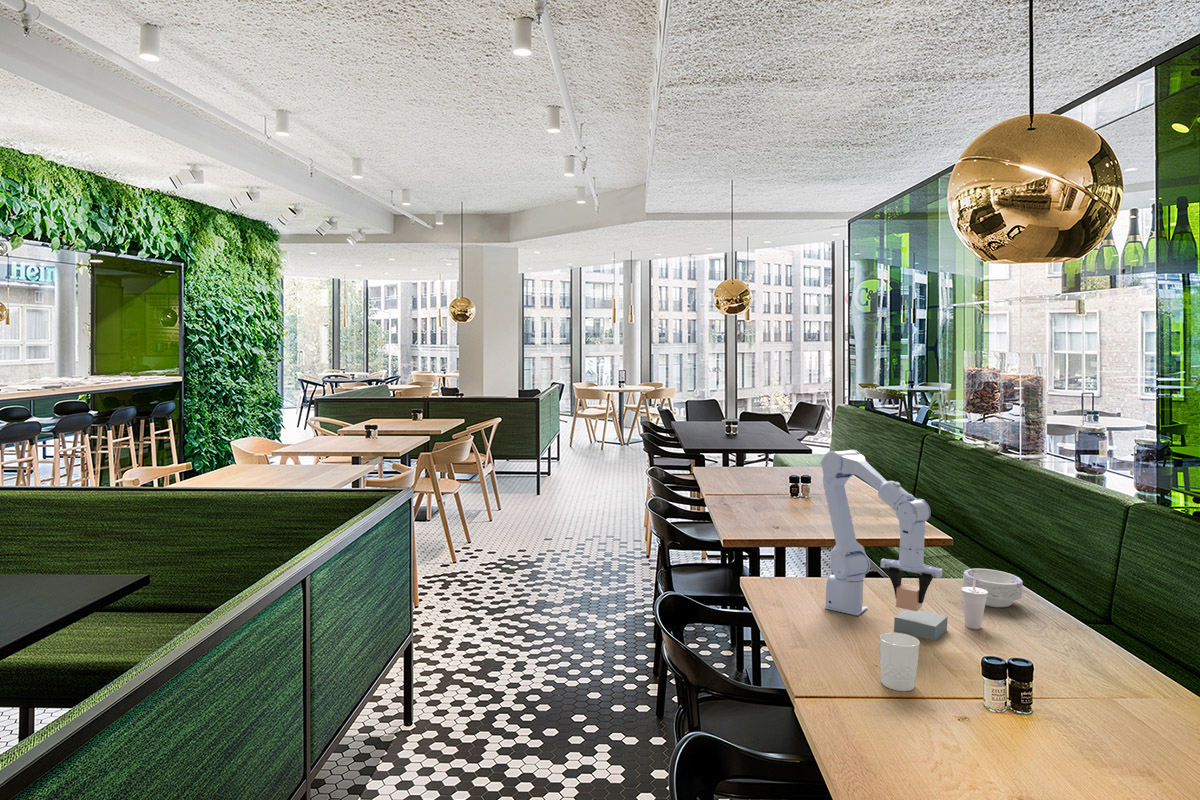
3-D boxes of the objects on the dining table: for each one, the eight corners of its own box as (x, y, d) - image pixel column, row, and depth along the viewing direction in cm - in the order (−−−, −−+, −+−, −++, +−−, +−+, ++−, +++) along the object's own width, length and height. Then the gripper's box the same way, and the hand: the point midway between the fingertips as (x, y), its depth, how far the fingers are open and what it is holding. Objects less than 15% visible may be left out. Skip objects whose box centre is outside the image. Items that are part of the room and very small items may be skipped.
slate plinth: (893, 632, 195) (894, 617, 195) (907, 622, 203) (907, 607, 203) (934, 642, 189) (935, 626, 189) (946, 631, 196) (947, 616, 196)
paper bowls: (1032, 612, 212) (1034, 584, 211) (977, 610, 212) (978, 582, 211) (1004, 594, 227) (1005, 568, 226) (952, 593, 227) (954, 567, 226)
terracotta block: (895, 607, 193) (896, 587, 193) (901, 602, 197) (902, 583, 197) (916, 611, 190) (917, 591, 190) (922, 606, 194) (922, 587, 194)
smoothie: (980, 622, 202) (983, 570, 201) (990, 631, 196) (993, 578, 195) (955, 621, 203) (958, 569, 202) (964, 630, 196) (967, 576, 196)
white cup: (916, 680, 166) (918, 635, 165) (918, 695, 158) (920, 648, 158) (877, 674, 168) (879, 630, 168) (878, 689, 161) (880, 643, 160)
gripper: (877, 545, 194) (875, 597, 195) (938, 555, 185) (935, 610, 186) (886, 540, 200) (884, 591, 201) (945, 549, 191) (942, 602, 192)
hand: (909, 599), depth 194 cm, fingers closed on terracotta block, 5 cm apart
